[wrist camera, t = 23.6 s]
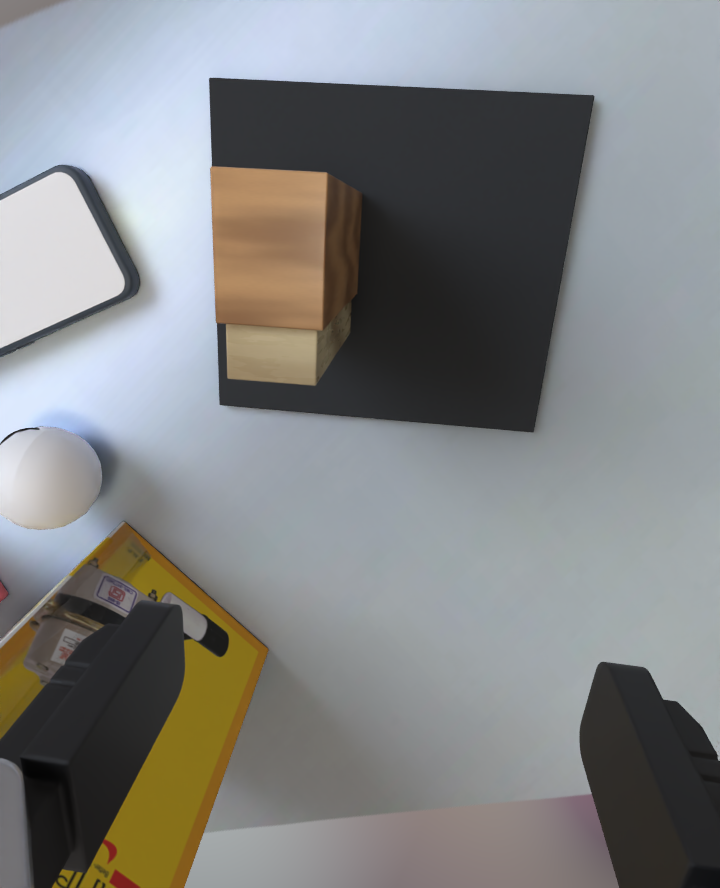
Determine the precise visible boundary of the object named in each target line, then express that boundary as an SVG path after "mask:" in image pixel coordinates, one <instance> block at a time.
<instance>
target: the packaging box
mask: <svg viewBox="0 0 720 888" xmlns="http://www.w3.org/2000/svg"><path fill="white" fill-rule="evenodd" d="M141 600H147V601H155V602H162V603H170V604H178V605H180V606H181V608H182V613H183V630H184V650H185V675H184V681H183V685H182V688H181V692H180V694H179V697H178V699H177V701H176V703H175V705H174V707H173V709H172V711H171V713H170V715H169V717H168V718H167V720H166V722H165V724H164V726H163V728H162V730H161V732H160V734H159V736H158V738H157V739H156V741H155V743H154V745H153V747H152V749H151V751H150V753H149V755H148V757H147V759H146V760H145V762H144V764H143V766H142V768H141V770H140V772H139V774H138V776H137V778H136V780H135V781H134V783H133V785H132V787H131V789H130V791H129V793H128V795H127V797H126V799H125V801H124V802H123V804H122V806H121V808H120V810H119V812H118V814H117V816H116V818H115V820H114V822H113V823H112V825H111V827H110V829H109V831H108V833H107V835H106V837H105V839H104V841H103V843H102V844H101V846H100V848H99V850H98V852H97V854H96V856H95V858H94V860H93V862H92V864H91V866H90V867H89V869H88V871H87V873H81V872H75V871H69V870H63V869H62V871H61V872H60V874H59V876H58V878H57V879H56V881H55V883H54V885H53V887H52V888H184V886H185V883H186V881H187V878H188V875H189V872H190V869H191V867H192V864H193V861H194V858H195V855H196V852H197V850H198V847H199V844H200V841H201V838H202V836H203V833H204V830H205V827H206V824H207V822H208V819H209V816H210V813H211V810H212V808H213V805H214V802H215V799H216V796H217V794H218V791H219V788H220V785H221V782H222V779H223V777H224V774H225V771H226V768H227V765H228V763H229V760H230V757H231V754H232V751H233V749H234V746H235V743H236V740H237V737H238V735H239V732H240V729H241V726H242V723H243V720H244V718H245V715H246V712H247V709H248V706H249V704H250V701H251V698H252V695H253V692H254V690H255V687H256V684H257V681H258V678H259V676H260V673H261V670H262V667H263V664H264V662H265V659H266V656H267V653H268V648H267V647H265V646H264V645H263V644H262V643H261V642H260V641H259V640H257V639H256V638H255V637H254V636H253V635H252V634H251V633H250V632H248V631H247V630H246V629H245V628H244V627H243V626H242V625H241V624H239V623H238V622H237V621H236V620H235V619H234V618H233V617H232V616H230V615H229V614H228V613H227V612H226V611H225V610H224V609H222V608H221V607H220V606H219V605H218V604H217V603H216V602H215V601H213V600H212V599H211V598H210V597H209V596H208V595H207V594H206V593H204V592H203V591H202V590H201V589H200V588H199V587H198V586H196V585H195V584H194V583H193V582H192V581H191V580H190V579H189V578H187V577H186V576H185V575H184V574H183V573H182V572H181V571H180V570H178V569H177V568H176V567H175V566H174V565H173V564H172V563H170V562H169V561H168V560H167V559H166V558H165V557H164V556H163V555H161V554H160V553H159V552H158V551H157V550H156V549H155V548H154V547H152V546H151V545H150V544H149V543H148V542H147V541H146V540H145V539H143V538H142V537H141V536H140V535H139V534H138V533H137V532H135V531H134V530H133V529H132V528H131V527H130V526H129V525H128V524H126V523H125V522H122V523H120V524H119V525H118V526H117V527H116V528H115V529H114V530H113V531H112V532H111V533H110V534H109V535H108V536H107V537H106V538H105V539H104V540H103V541H102V542H101V543H100V544H99V545H98V546H97V547H96V548H94V549H93V550H92V551H91V552H90V553H89V554H88V555H87V556H86V557H85V558H84V559H83V560H82V561H81V562H80V563H79V564H78V565H77V566H76V567H75V568H74V569H73V570H72V571H71V572H70V573H68V574H67V575H66V576H65V577H64V578H63V579H62V580H61V581H60V582H59V583H58V584H57V585H56V586H55V587H54V588H53V589H52V590H51V591H50V592H49V593H48V594H47V595H46V596H45V597H44V598H42V599H41V600H40V601H39V602H38V603H37V604H36V605H35V606H34V607H33V608H32V609H31V610H30V611H29V612H28V613H27V614H26V615H25V616H24V617H23V618H22V619H21V620H20V621H19V622H18V623H16V624H15V625H14V626H13V627H12V628H11V629H10V630H9V631H8V632H7V633H6V634H5V635H4V636H3V637H2V638H1V639H0V739H1V738H2V737H3V736H4V734H5V733H6V732H7V731H8V730H9V728H10V727H11V726H12V725H13V724H14V722H15V721H16V720H17V719H18V718H19V716H20V715H21V714H22V713H23V712H24V710H25V709H26V708H27V707H28V705H29V704H30V703H31V702H32V701H33V699H34V698H35V697H36V696H37V695H38V693H39V692H40V691H41V690H42V689H43V687H44V686H45V685H46V684H49V683H50V679H51V678H52V676H53V675H54V674H55V673H56V672H57V670H58V669H59V668H60V667H61V666H64V664H65V661H66V660H67V658H68V657H69V656H70V655H71V653H72V652H73V651H74V650H75V649H76V647H77V646H78V645H79V644H80V643H81V641H82V640H83V639H85V638H86V637H88V636H89V635H91V634H92V633H94V632H95V631H97V630H98V629H100V628H101V627H103V626H105V625H106V624H108V623H111V624H118V625H120V624H121V623H122V622H123V621H124V619H125V618H126V617H127V615H128V614H129V613H130V611H131V610H132V609H133V607H134V606H135V605H136V604H137V603H138V602H139V601H141Z"/></svg>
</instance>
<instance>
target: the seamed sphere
mask: <svg viewBox="0 0 720 888" xmlns="http://www.w3.org/2000/svg"><path fill="white" fill-rule="evenodd" d="M101 484H102V469H101V463H100V461H99V458H98V456H97V454H96V452H95V451H94V450H93V448H92V447H91V446H90V445H89V444H88V442H87V441H85V440H84V439H82V438H81V437H80V436H78V435H77V434H75V433H72V432H69V431H67V430H64V429H60V428H56V427H43V426H40V427H36V428H25V429H20V430H18V431H15V432H13V433H11V434H9V435H8V436H7V437H6V438H5V439H4V440H3V441H2V442H1V443H0V514H1V515H2V516H3V517H5V518H6V519H8V520H9V521H11V522H12V523H14V524H16V525H19V526H21V527H24V528H27V529H37V530H45V529H54V528H59V527H63V526H66V525H68V524H69V523H71V522H73V521H75V520H77V519H78V518H80V517H81V516H83V515H84V514H86V513H87V511H88V510H89V509H90V507H91V506H92V504H93V503H94V501H95V500H96V499H97V497H98V496H99V493H100V489H101Z"/></svg>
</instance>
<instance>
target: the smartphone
mask: <svg viewBox="0 0 720 888" xmlns="http://www.w3.org/2000/svg"><path fill="white" fill-rule="evenodd" d="M138 288H139V276H138V273H137V271H136V269H135V267H134V265H133V263H132V261H131V259H130V257H129V255H128V253H127V251H126V249H125V247H124V245H123V243H122V242H121V240H120V238H119V236H118V234H117V232H116V230H115V228H114V226H113V224H112V222H111V220H110V218H109V216H108V214H107V212H106V210H105V208H104V206H103V204H102V202H101V200H100V198H99V196H98V194H97V192H96V190H95V188H94V186H93V184H92V182H91V180H90V179H89V177H88V176H87V175H86V174H85V173H84V172H83V171H82V170H80V169H78V168H76V167H73V166H68V165H58V166H55V167H53V168H51V169H49V170H47V171H45V172H43V173H41V174H39V175H37V176H35V177H33V178H31V179H30V180H28V181H26V182H24V183H22V184H20V185H18V186H16V187H14V188H12V189H10V190H8V191H6V192H4V193H2V194H1V195H0V357H2V356H5V355H7V354H9V353H11V352H14V351H16V349H20V348H23V347H25V346H27V345H29V344H32V343H34V342H35V340H37V339H39V338H42V337H44V336H46V335H48V334H50V333H53V332H55V331H57V330H59V329H62V328H64V327H66V326H68V325H71V324H73V323H75V322H77V321H80V320H82V319H84V318H86V317H89V316H91V315H93V314H95V313H97V312H100V311H102V310H104V309H106V308H109V307H111V306H113V305H115V304H118V303H120V302H122V301H124V300H127V299H129V298H131V297H132V296H134V295H135V294H136V292H137V290H138Z"/></svg>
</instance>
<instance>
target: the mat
mask: <svg viewBox="0 0 720 888" xmlns="http://www.w3.org/2000/svg"><path fill="white" fill-rule="evenodd" d="M209 86H210V117H211V148H212V166H216V167H235V168H254V169H273V170H292V171H311V172H327V173H328V174H330V175H332V176H333V177H335V178H337V179H339V180H340V181H342V182H344V183H346V184H347V185H349V186H351V187H352V188H354V189H356V190H358V191H359V192H361V193H362V212H361V231H360V251H359V270H358V289H357V294H356V295H355V296H354V298H353V299H352V304H351V324H350V334H349V335H348V337H347V338H346V340H345V341H344V343H343V345H342V346H341V348H340V349H339V351H338V352H337V354H336V355H335V357H334V358H333V360H332V361H331V363H330V364H329V366H328V367H327V369H326V370H325V372H324V374H323V375H322V377H321V378H320V380H319V381H318V383H317V384H316V385H315V386H311V385H299V384H286V383H274V382H261V381H249V380H236V379H228V377H227V345H226V324H221V323H217V335H218V366H219V398H220V405H226V406H237V407H249V408H260V409H272V410H283V411H295V412H306V413H318V414H329V415H340V416H352V417H363V418H375V419H386V420H398V421H409V422H421V423H432V424H444V425H455V426H466V427H478V428H489V429H501V430H512V431H524V432H534V427H535V422H536V416H537V411H538V405H539V400H540V394H541V389H542V383H543V377H544V372H545V366H546V361H547V355H548V350H549V344H550V339H551V333H552V328H553V322H554V317H555V311H556V306H557V300H558V294H559V289H560V283H561V278H562V272H563V267H564V261H565V256H566V250H567V245H568V239H569V234H570V228H571V223H572V217H573V212H574V206H575V200H576V195H577V189H578V184H579V178H580V173H581V167H582V162H583V156H584V151H585V145H586V140H587V134H588V129H589V123H590V117H591V112H592V106H593V101H594V96H593V95H572V94H551V93H529V92H507V91H486V90H464V89H442V88H420V87H399V86H377V85H355V84H334V83H312V82H290V81H269V80H247V79H225V78H209Z"/></svg>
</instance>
